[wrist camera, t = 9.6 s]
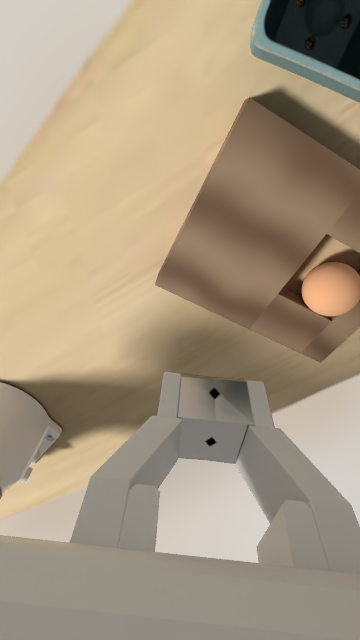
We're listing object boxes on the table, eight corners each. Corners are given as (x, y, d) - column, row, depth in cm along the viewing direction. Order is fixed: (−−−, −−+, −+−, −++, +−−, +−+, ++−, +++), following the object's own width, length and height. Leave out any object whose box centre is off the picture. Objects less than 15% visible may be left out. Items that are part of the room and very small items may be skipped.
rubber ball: (355, 318, 24) (294, 295, 25) (341, 329, 28) (291, 309, 30) (380, 263, 24) (319, 245, 26) (363, 284, 28) (311, 267, 30)
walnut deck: (313, 347, 34) (320, 362, 32) (158, 273, 30) (154, 284, 28) (439, 225, 25) (459, 234, 23) (245, 99, 22) (249, 97, 19)
